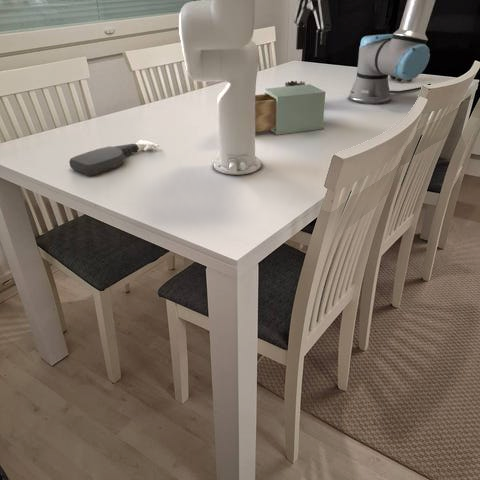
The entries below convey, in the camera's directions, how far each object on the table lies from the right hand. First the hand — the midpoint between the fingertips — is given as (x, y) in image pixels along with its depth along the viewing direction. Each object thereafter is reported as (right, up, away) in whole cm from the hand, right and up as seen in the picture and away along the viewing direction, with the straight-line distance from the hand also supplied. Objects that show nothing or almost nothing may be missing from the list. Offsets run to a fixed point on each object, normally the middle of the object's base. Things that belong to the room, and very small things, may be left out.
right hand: (309, 52), depth 136 cm
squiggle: (+51, +14, +64) cm, 83 cm away
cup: (-1, -6, +33) cm, 33 cm away
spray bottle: (-56, -35, -12) cm, 67 cm away
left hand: (-23, -10, -2) cm, 25 cm away
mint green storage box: (-4, -20, +11) cm, 23 cm away
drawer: (-16, -21, +7) cm, 28 cm away
